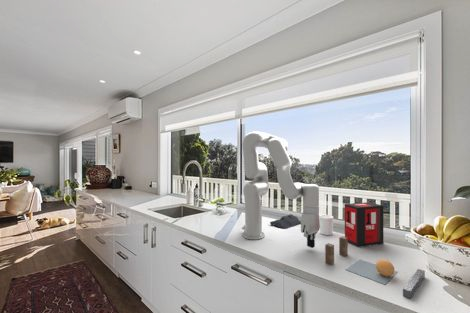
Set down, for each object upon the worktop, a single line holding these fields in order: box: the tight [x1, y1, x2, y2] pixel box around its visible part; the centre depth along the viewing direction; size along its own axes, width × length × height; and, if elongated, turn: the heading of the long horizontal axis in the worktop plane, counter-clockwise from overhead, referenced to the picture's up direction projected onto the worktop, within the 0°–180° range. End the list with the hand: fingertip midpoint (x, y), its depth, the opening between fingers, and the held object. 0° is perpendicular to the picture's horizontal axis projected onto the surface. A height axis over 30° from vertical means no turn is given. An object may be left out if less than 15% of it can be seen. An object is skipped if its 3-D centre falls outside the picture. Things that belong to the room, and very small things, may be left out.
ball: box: [375, 259, 396, 277], centre depth 88 cm, size 6×6×6 cm
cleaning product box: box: [344, 201, 384, 248], centre depth 122 cm, size 16×9×20 cm, turn 105°
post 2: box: [338, 236, 349, 257], centre depth 106 cm, size 3×3×8 cm
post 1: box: [324, 243, 335, 266], centre depth 98 cm, size 3×3×8 cm
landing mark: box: [345, 258, 398, 285], centre depth 92 cm, size 14×14×1 cm
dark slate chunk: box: [269, 213, 301, 230], centre depth 155 cm, size 15×22×5 cm
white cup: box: [319, 214, 334, 236], centre depth 136 cm, size 8×8×10 cm
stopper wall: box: [402, 268, 426, 300], centre depth 81 cm, size 2×20×2 cm, turn 130°
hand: (310, 246), depth 112 cm, fingers closed
